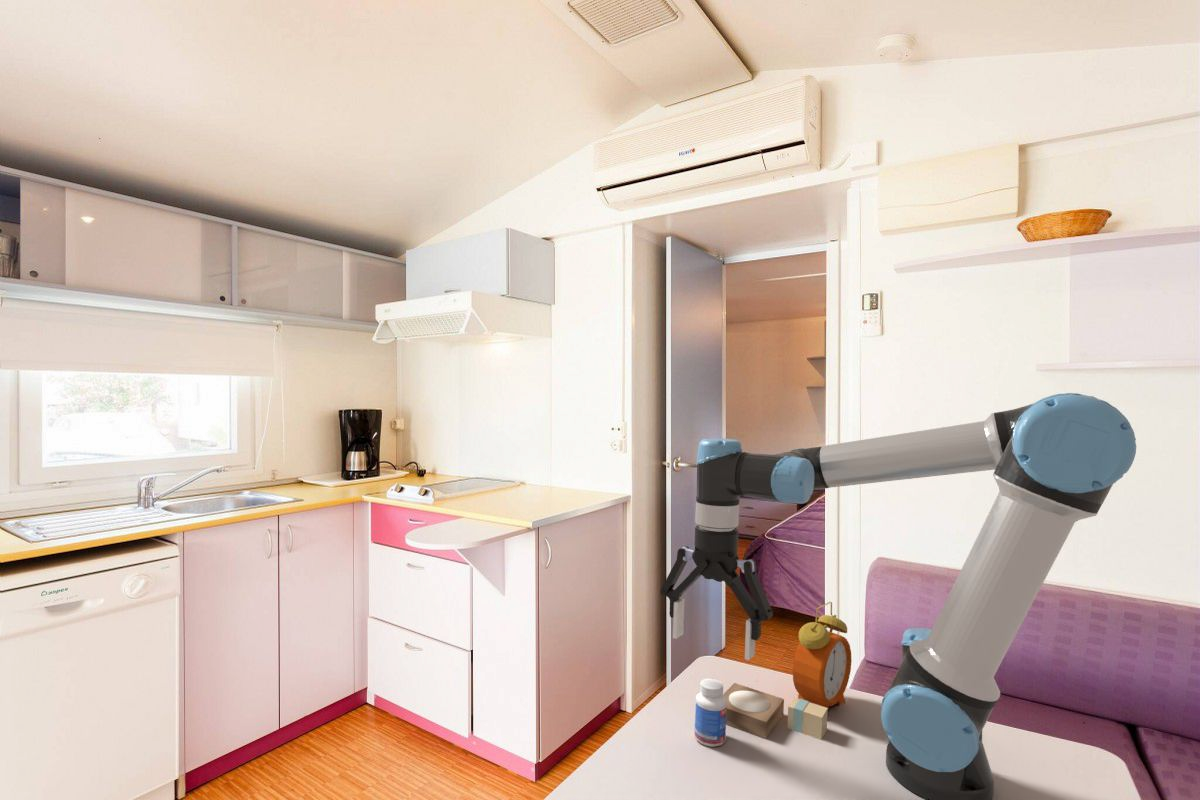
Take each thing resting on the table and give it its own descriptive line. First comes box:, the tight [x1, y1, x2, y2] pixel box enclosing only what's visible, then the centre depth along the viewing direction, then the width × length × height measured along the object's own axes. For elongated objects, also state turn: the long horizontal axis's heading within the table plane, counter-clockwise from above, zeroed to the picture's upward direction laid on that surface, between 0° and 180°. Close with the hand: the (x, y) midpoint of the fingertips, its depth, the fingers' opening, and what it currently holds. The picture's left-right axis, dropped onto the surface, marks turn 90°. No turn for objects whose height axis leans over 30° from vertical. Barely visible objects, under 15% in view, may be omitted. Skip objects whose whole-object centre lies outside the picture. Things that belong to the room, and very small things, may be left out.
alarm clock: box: [792, 601, 852, 709], centre depth 117 cm, size 13×6×20 cm, turn 133°
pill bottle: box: [694, 678, 727, 748], centre depth 104 cm, size 6×5×10 cm
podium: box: [722, 682, 785, 739], centre depth 112 cm, size 10×10×3 cm
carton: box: [787, 697, 829, 740], centre depth 109 cm, size 6×4×4 cm
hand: (712, 646), depth 104 cm, fingers open, 13 cm apart
